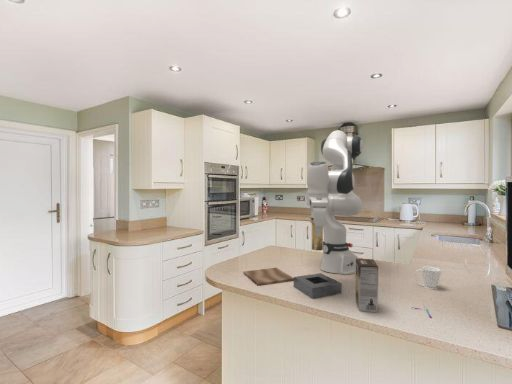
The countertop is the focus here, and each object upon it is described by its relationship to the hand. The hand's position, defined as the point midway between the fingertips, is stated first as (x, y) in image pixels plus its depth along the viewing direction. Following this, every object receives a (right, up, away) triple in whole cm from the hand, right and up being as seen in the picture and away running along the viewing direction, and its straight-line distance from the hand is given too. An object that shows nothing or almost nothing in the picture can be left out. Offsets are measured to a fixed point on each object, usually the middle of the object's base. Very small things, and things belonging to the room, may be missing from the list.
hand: (317, 234), depth 115 cm
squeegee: (+33, -24, -16) cm, 44 cm away
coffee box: (+14, -24, -15) cm, 31 cm away
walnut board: (-20, -23, +16) cm, 34 cm away
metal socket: (0, -23, 0) cm, 23 cm away
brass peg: (0, -6, 0) cm, 6 cm away
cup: (+48, -23, +4) cm, 54 cm away
